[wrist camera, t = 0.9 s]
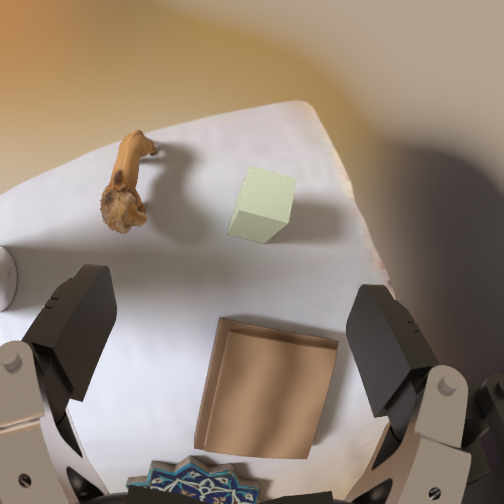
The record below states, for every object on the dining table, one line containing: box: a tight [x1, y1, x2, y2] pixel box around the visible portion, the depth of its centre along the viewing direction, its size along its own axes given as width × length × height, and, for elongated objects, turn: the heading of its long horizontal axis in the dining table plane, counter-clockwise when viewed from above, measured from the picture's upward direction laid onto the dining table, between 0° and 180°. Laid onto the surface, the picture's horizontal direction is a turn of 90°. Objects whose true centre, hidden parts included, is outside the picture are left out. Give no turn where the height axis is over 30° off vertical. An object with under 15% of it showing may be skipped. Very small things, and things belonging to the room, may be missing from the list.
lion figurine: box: [100, 130, 156, 234], centre depth 30 cm, size 15×5×9 cm, turn 5°
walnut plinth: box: [194, 318, 339, 459], centre depth 30 cm, size 14×16×5 cm
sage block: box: [228, 166, 297, 244], centre depth 31 cm, size 4×4×10 cm
